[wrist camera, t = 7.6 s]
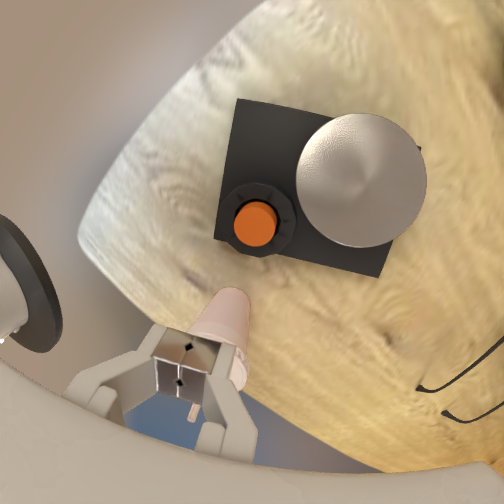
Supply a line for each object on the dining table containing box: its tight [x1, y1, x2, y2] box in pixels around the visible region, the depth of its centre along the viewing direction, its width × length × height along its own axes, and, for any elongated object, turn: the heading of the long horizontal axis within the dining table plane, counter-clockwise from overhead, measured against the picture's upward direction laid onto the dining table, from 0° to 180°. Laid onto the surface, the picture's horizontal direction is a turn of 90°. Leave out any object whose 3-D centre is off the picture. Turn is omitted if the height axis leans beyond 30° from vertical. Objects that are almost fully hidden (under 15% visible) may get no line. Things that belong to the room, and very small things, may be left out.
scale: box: [214, 98, 421, 278], centre depth 23 cm, size 15×12×3 cm
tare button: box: [234, 202, 277, 246], centre depth 22 cm, size 3×3×2 cm
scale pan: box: [296, 113, 427, 248], centre depth 20 cm, size 10×10×1 cm
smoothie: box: [186, 287, 250, 422], centre depth 24 cm, size 6×6×14 cm
